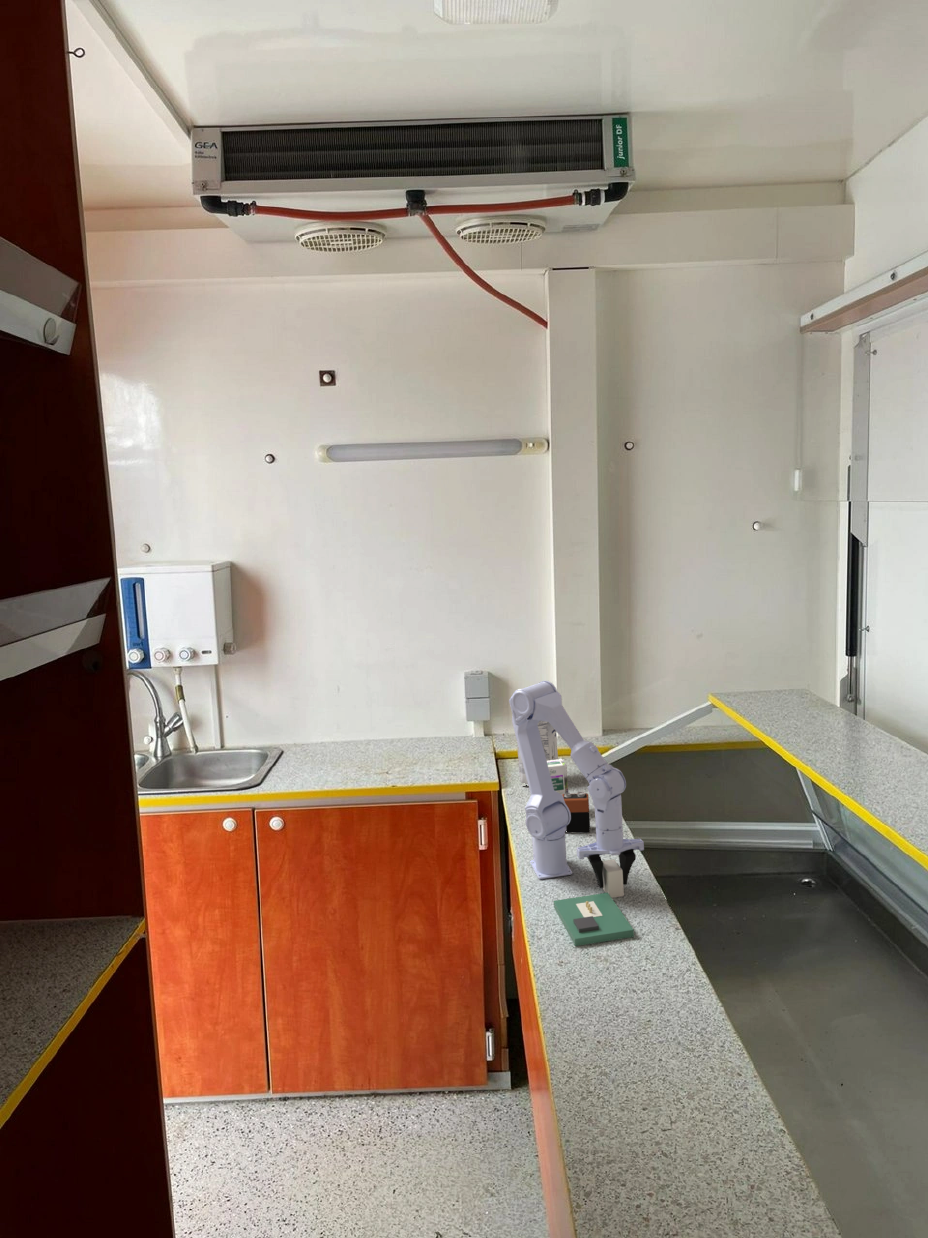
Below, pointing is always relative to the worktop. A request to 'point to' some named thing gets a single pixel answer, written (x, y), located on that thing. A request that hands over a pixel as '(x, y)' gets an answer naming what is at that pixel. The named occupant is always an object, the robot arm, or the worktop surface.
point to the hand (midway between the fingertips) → (612, 884)
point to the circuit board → (593, 919)
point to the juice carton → (548, 744)
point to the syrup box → (558, 775)
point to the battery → (578, 812)
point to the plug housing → (613, 878)
